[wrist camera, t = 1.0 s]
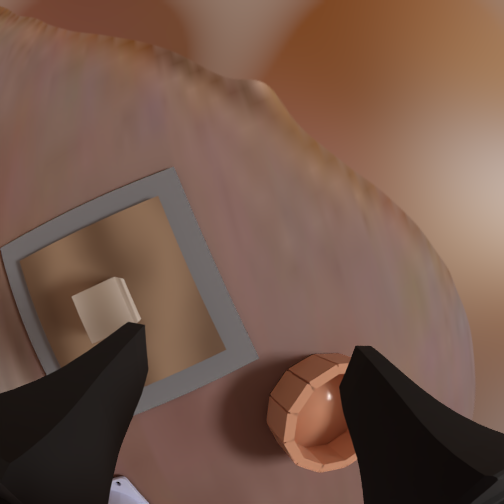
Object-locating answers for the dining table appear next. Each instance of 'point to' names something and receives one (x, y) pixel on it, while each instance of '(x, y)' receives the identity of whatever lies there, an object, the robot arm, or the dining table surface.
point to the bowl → (312, 414)
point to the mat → (195, 258)
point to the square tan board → (122, 291)
